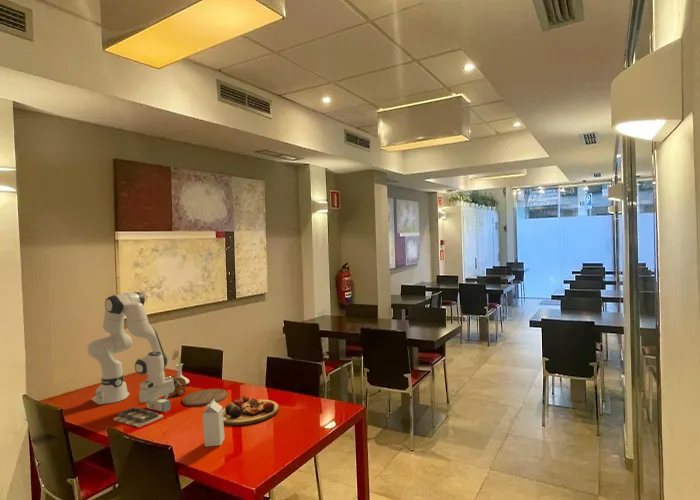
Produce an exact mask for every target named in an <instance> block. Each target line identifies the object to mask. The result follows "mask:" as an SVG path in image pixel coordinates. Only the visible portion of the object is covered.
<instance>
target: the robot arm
mask: <svg viewBox="0 0 700 500" xmlns="http://www.w3.org/2000/svg"><path fill="white" fill-rule="evenodd" d="M104 307H105V309H104V316H103V322H102V328H103V330H104V332H106V333H109V334H110V335H109V336H107V337H102V338H98V339H96V340H93V341H91V342H90V343H89V344H88V346H87V353H88V355H89V357H91V358H94V359H95V360H96V361H97V362H98V363H99V365H100V367H101V369H100V370H101V375H102V378H100V385H99V386H98V387H97V388H96V390H95V392H94V395H95V396H93V397H92V398H91V401H92V402H94V403H96V404H97V405H105V404H112V403H118V402H121V401H123V400H126V399H127V398H129V397H128V396H130V392H129V391H128V387H127V383H126V381H125V375H124V372H123V363H122V361H120V360H119V359H117V358H116V359H115V358H114V356H113V355H115V354H119V353H122V352H125V351H127V350H129V349H130V348H131V347H132V345H133V339H132V337H131V336H130V335H129V334H128V333H126V332H125V327H124V326H125V320H126V326H127V330H128V332H129V333H130V334H131V335H132V336H134V337H138V338H143V339H146V340H147V341H148V342H149V346H150V347H151V348H150V349H151V350H152V351H150V352H148V353H147V355H145V356H143V357H141V358H138V359H136V361H135V364H134V370H135V372H136V373H137V374H138V375H142V376H143V375H147V378H146V379H145V380H144V381H143V382H141V383H140V384H139V388H140V389H139V391H138V393H139V394H138V396H139V397H138V398H139V402H141V403H144V404H145V403H147V402H148V404H149V406H150V408H152V407H154V404H152V403H151V402H152V400H153V399H155V398H160V397H163V396H164V398H163V399H165V400H168V398H169V393H172V392H174V390H175V387H174V382H173V379H174V378H173V377H171V376H169V375H168V376H167V377H166V374H165V371H164V370H165V368H166V366H167V364H168V357H167V355H166V353H165V351H164V349H163V347H162V343H161V340H160V337H159V335H158V333H157V331H156V329H155V328H154V327H152V326H151V323H149V318H148V315H147V311H146V308H145V296H144V294H143V293H142V292H139V291H132V292H123V293H119V294H116V295H115V294H114V295H110V296H108V297H107V298H106V299H105V301H104ZM150 408H149V409H150Z"/></svg>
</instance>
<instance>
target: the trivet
mask: <svg viewBox="0 0 700 500" xmlns="http://www.w3.org/2000/svg"><path fill="white" fill-rule="evenodd" d="M227 396H228V393H227V390H225V389H223V388H209V389H202V390H197V391H193V392H191V393H189V394H187V395H185V396H184V397H183V398H182V404H183V405H184V406H187V407H192V406H195V407H196V406H197V407H205V406H204V405H206V406H207V405H208V404H209V405H210V403H211V402H212V401H213V399H214V400H215V402H217V403H219V402H221V401H223V400H225V399H226V398H227ZM195 407H194V408H195ZM197 407H196V408H197Z"/></svg>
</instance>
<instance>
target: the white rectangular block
mask: <svg viewBox="0 0 700 500" xmlns="http://www.w3.org/2000/svg"><path fill="white" fill-rule="evenodd" d="M151 403H152V404H154V407H152V408H150V406H149V404H148V402H146V408H147V409H150V410H154V411H159V412H163V413H165V412H168V411H170V410H171V400H169V399H167V400H165V399H164V398H160V397H158V398H155V399H153V400H152V402H151Z"/></svg>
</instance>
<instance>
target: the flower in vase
mask: <svg viewBox="0 0 700 500" xmlns="http://www.w3.org/2000/svg"><path fill="white" fill-rule="evenodd" d="M179 353H180V351H179V349H178V348H177V349H174V351H173V353H172V355H171V360H172V362H173V361H176V362H177V363H178V364H174V366H175V367H176V369H177V373H179V374H177V375H176V377H181V378H183V379H185V382H186V385H188V384H189V383H190V380H189V378H188V377H185V376H184V375H183V374H182V369H183V365H184V363H181V358H180V357H179ZM177 382H179V381H177ZM179 384H180V383H179ZM181 385H182V384H181Z"/></svg>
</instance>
